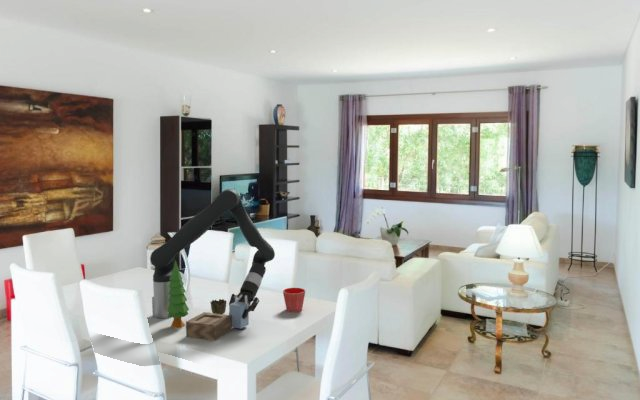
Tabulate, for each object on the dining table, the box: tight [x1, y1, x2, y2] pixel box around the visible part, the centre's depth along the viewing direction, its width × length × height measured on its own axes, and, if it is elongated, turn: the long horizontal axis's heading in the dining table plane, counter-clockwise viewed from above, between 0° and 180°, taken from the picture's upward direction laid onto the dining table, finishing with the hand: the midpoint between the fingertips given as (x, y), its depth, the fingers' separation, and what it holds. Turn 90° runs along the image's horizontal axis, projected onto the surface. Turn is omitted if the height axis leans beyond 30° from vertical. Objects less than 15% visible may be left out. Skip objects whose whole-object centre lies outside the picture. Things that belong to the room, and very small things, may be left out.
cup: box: [210, 298, 227, 314], centre depth 247 cm, size 8×7×8 cm
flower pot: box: [282, 287, 306, 313], centre depth 259 cm, size 11×11×10 cm
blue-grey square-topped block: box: [228, 301, 250, 330], centre depth 232 cm, size 6×6×10 cm
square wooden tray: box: [185, 312, 233, 341], centre depth 225 cm, size 14×14×7 cm
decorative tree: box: [167, 259, 190, 329], centre depth 234 cm, size 10×9×30 cm
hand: (236, 317), depth 230 cm, fingers closed on blue-grey square-topped block, 6 cm apart
